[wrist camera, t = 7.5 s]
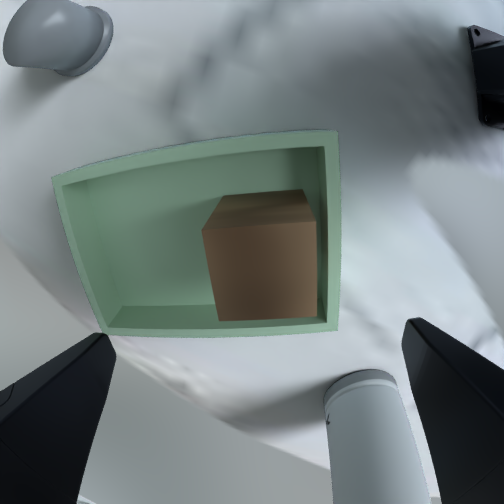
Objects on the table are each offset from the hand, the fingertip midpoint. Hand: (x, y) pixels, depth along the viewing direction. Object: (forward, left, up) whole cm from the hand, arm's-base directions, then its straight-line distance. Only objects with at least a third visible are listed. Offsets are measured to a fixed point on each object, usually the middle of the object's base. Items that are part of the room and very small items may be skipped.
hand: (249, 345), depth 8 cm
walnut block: (0, 0, -9) cm, 9 cm away
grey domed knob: (+9, -13, -9) cm, 18 cm away
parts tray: (+3, 0, -9) cm, 10 cm away
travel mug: (-7, +15, -9) cm, 19 cm away
